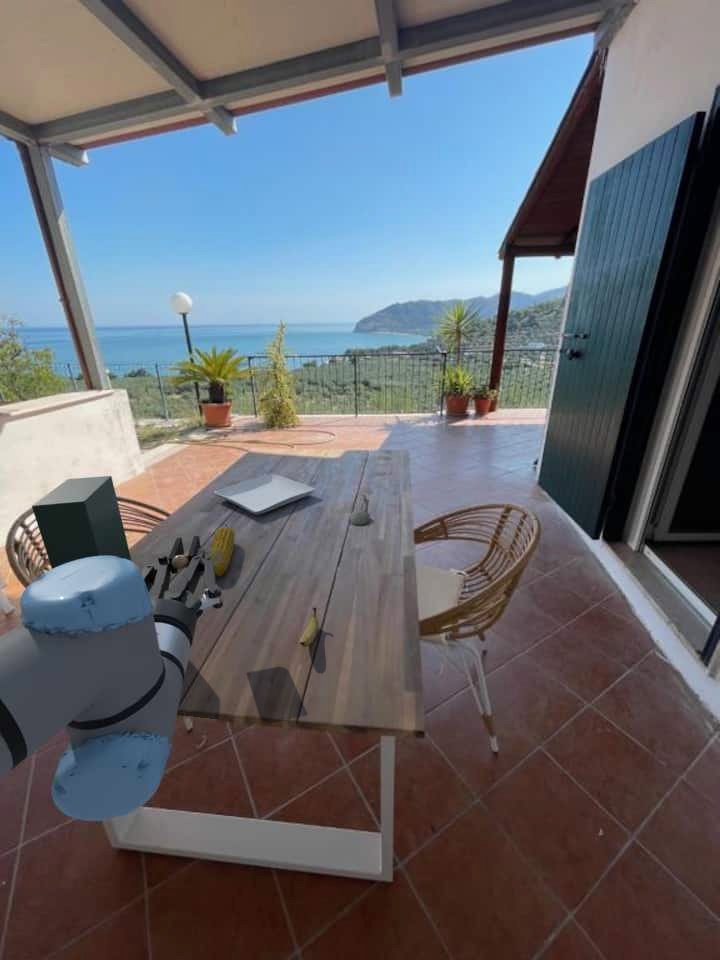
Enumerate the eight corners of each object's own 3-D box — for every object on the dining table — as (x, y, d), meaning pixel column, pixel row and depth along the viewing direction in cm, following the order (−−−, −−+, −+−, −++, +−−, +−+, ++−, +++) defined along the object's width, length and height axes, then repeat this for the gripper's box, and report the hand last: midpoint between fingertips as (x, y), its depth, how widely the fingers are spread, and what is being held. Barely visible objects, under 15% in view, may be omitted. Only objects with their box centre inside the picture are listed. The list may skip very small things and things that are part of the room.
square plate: (213, 500, 145) (212, 490, 144) (272, 481, 164) (272, 472, 163) (256, 521, 128) (255, 510, 127) (317, 496, 148) (316, 487, 146)
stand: (76, 645, 77) (31, 505, 66) (101, 601, 89) (67, 479, 79) (121, 637, 78) (84, 501, 68) (140, 595, 91) (111, 475, 81)
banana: (309, 659, 73) (308, 642, 71) (297, 658, 73) (295, 641, 72) (321, 622, 82) (320, 607, 81) (310, 621, 83) (309, 606, 81)
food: (216, 542, 115) (213, 524, 113) (236, 540, 116) (233, 522, 114) (207, 583, 96) (204, 562, 94) (231, 580, 97) (228, 559, 95)
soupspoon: (348, 526, 126) (368, 528, 125) (348, 517, 124) (368, 519, 124) (355, 498, 146) (373, 499, 145) (356, 490, 145) (373, 491, 144)
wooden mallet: (155, 572, 55) (154, 555, 55) (190, 567, 77) (189, 554, 78) (200, 565, 56) (199, 549, 57) (222, 562, 79) (221, 550, 79)
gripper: (221, 607, 43) (233, 518, 65) (68, 631, 40) (134, 528, 61) (230, 660, 46) (238, 557, 67) (86, 686, 42) (143, 569, 64)
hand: (189, 544), depth 64 cm, fingers closed on wooden mallet, 2 cm apart
